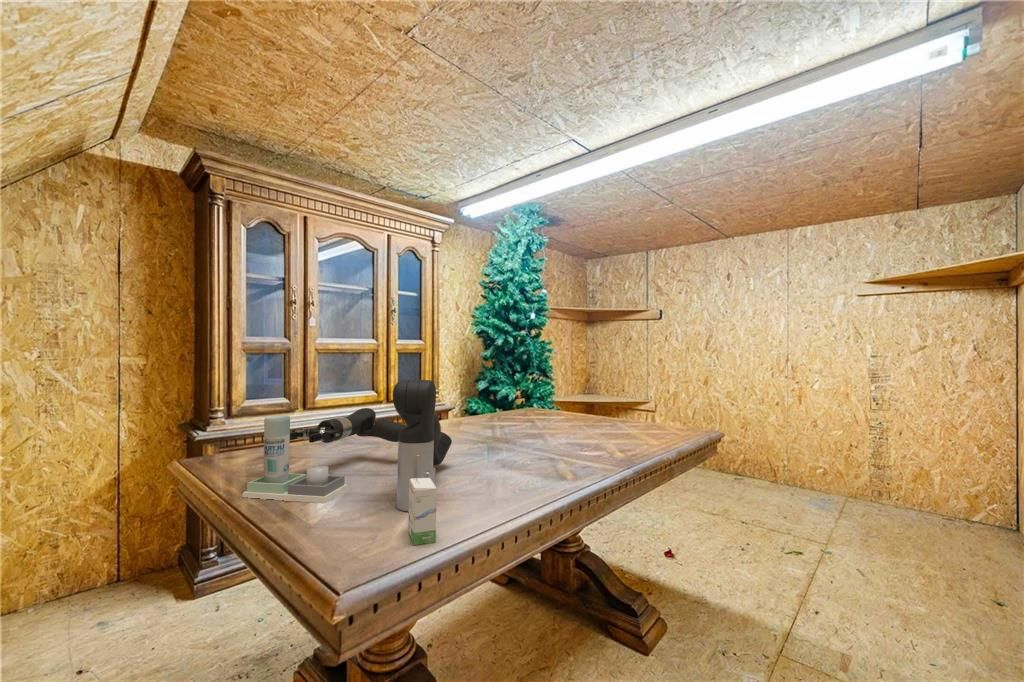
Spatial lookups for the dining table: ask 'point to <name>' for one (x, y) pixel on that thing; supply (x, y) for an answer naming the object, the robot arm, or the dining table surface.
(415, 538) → the ink box
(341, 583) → the dining table surface
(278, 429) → the spray paint can
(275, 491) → the double tray
